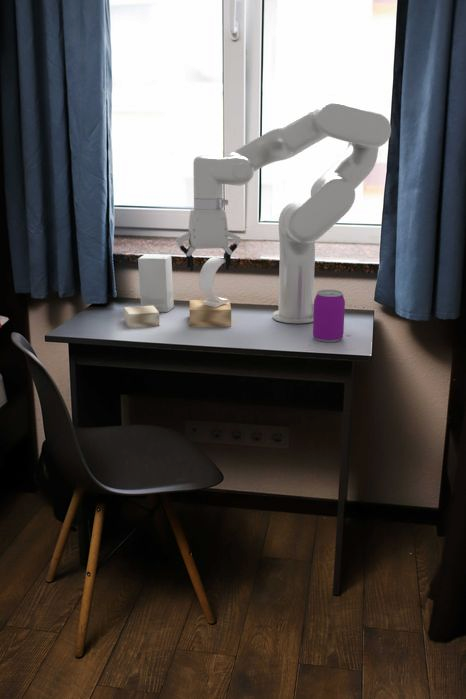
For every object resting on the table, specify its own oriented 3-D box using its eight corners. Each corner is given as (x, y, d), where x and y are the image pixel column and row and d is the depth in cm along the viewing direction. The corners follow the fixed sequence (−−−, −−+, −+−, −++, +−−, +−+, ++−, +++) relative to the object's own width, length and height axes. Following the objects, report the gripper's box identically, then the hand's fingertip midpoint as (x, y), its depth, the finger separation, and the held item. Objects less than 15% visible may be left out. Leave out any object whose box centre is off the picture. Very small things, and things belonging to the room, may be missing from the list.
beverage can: (341, 334, 205) (343, 289, 202) (344, 343, 198) (347, 296, 194) (311, 334, 206) (313, 288, 202) (313, 343, 198) (315, 295, 195)
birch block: (153, 319, 220) (153, 305, 219) (159, 327, 213) (159, 312, 212) (124, 321, 218) (124, 307, 217) (129, 329, 211) (128, 314, 210)
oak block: (229, 317, 223) (229, 299, 222) (231, 327, 213) (231, 309, 211) (189, 317, 223) (189, 300, 221) (189, 328, 212) (189, 309, 211)
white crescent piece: (228, 302, 217) (225, 259, 213) (213, 308, 213) (209, 264, 209) (216, 299, 220) (212, 257, 216) (200, 305, 216) (197, 262, 212)
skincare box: (174, 307, 232) (173, 254, 227) (167, 313, 226) (166, 258, 221) (146, 305, 234) (145, 253, 229) (139, 311, 228) (137, 257, 223)
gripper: (237, 202, 214) (236, 265, 219) (173, 203, 210) (174, 268, 215) (243, 205, 207) (243, 270, 212) (177, 207, 203) (178, 273, 208)
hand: (208, 269), depth 213 cm, fingers open, 9 cm apart
